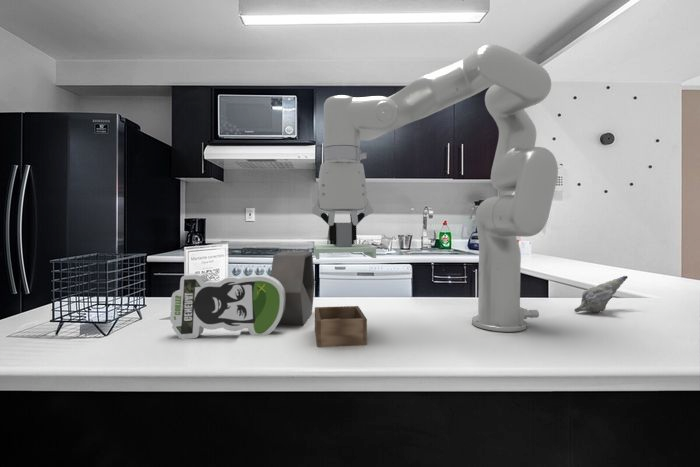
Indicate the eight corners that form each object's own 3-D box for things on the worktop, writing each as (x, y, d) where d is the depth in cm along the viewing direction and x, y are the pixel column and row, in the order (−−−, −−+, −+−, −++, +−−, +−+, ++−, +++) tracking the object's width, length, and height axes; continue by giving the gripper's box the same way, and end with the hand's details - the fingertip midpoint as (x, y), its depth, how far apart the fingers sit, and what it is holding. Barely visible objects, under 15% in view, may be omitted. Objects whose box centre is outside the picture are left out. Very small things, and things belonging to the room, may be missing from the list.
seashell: (563, 309, 112) (564, 274, 112) (622, 309, 112) (623, 274, 112) (584, 318, 102) (585, 280, 102) (648, 318, 102) (650, 280, 102)
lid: (364, 252, 90) (364, 222, 90) (376, 258, 77) (375, 222, 76) (314, 253, 89) (313, 222, 89) (316, 259, 75) (315, 223, 75)
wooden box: (358, 331, 90) (358, 306, 90) (366, 348, 78) (366, 319, 78) (314, 333, 89) (314, 307, 88) (317, 350, 77) (316, 320, 76)
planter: (297, 315, 86) (307, 235, 96) (263, 315, 86) (276, 235, 97) (309, 337, 100) (316, 266, 111) (280, 337, 101) (290, 265, 111)
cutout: (166, 276, 84) (281, 267, 84) (171, 275, 87) (283, 266, 87) (172, 345, 85) (286, 336, 85) (178, 341, 87) (288, 332, 88)
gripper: (376, 160, 87) (377, 242, 87) (303, 159, 85) (304, 243, 85) (383, 155, 79) (384, 244, 80) (303, 154, 77) (304, 246, 78)
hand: (342, 243), depth 83 cm, fingers closed on lid, 3 cm apart
